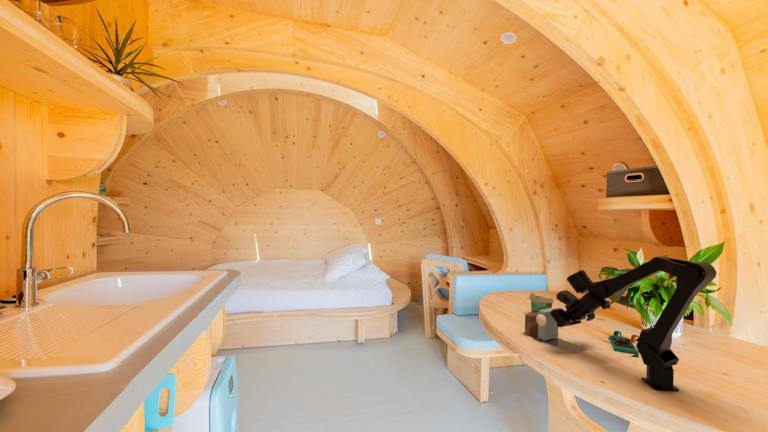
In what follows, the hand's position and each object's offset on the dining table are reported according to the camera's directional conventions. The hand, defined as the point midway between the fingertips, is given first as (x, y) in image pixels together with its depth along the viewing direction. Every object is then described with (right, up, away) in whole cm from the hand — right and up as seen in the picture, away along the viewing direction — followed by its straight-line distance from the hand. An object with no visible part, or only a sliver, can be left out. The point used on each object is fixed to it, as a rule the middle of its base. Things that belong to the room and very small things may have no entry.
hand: (558, 325), depth 130 cm
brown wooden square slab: (-5, -7, +10) cm, 13 cm away
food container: (+8, -7, +36) cm, 37 cm away
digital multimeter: (+23, -9, -2) cm, 25 cm away
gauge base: (-1, -7, +2) cm, 8 cm away
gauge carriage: (-3, -6, +4) cm, 8 cm away
